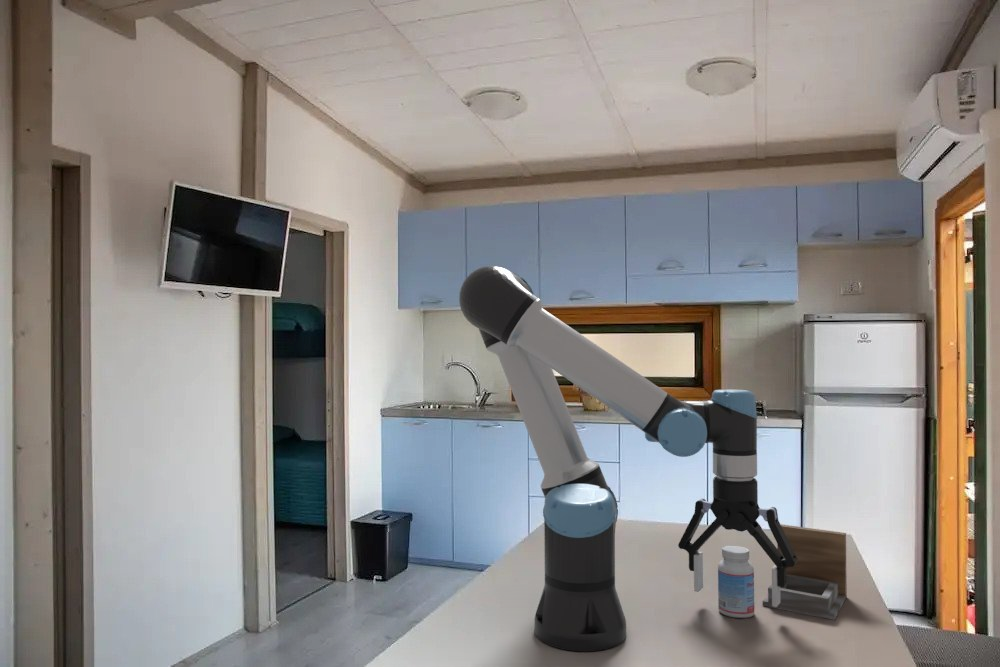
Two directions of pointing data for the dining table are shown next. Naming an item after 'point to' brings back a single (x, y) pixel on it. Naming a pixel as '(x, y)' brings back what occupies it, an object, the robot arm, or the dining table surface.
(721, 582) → the pill bottle
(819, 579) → the cup bracket
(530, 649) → the dining table surface
